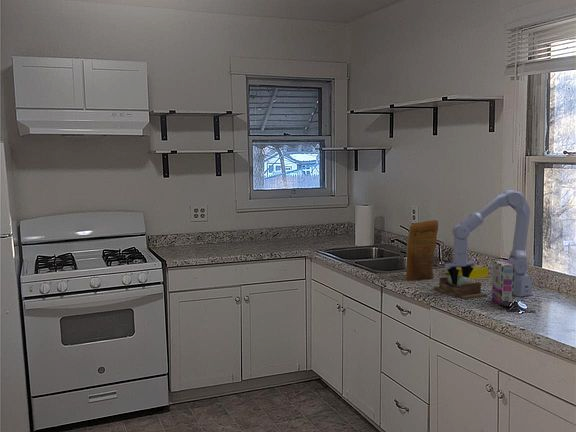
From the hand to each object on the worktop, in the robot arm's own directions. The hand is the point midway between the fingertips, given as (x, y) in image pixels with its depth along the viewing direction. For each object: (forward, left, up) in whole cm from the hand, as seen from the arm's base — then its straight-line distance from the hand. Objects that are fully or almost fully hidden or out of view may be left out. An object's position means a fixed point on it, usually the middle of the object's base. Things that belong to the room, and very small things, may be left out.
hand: (459, 283), depth 246 cm
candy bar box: (-21, -4, -4) cm, 22 cm away
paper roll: (0, 0, +1) cm, 1 cm away
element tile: (+28, -27, -4) cm, 39 cm away
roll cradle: (0, 0, -4) cm, 4 cm away
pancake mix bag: (+29, -1, -4) cm, 29 cm away
